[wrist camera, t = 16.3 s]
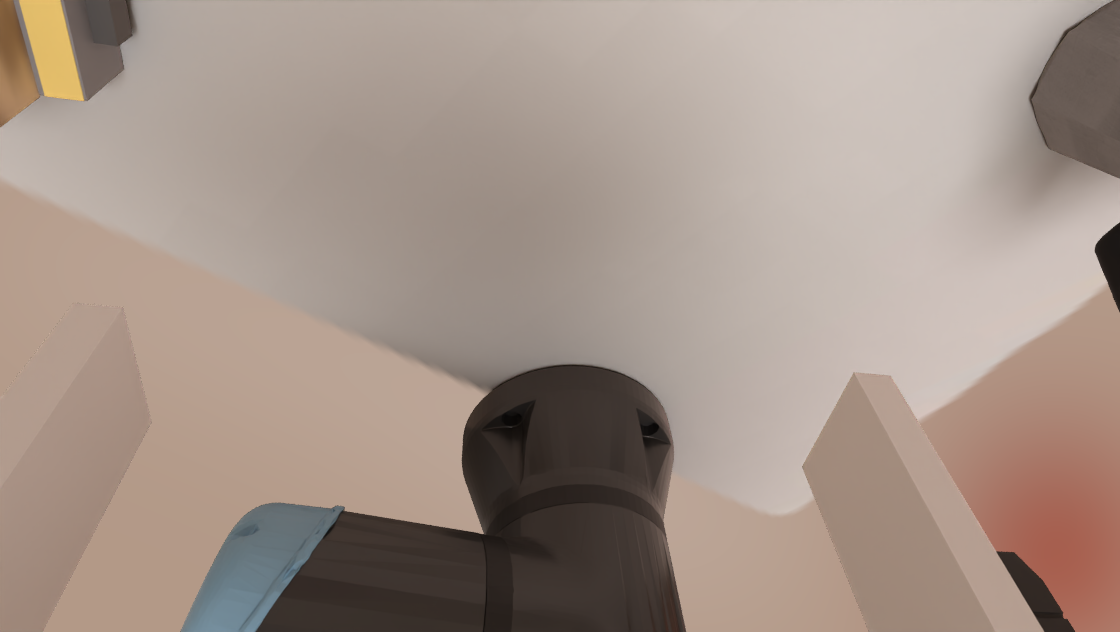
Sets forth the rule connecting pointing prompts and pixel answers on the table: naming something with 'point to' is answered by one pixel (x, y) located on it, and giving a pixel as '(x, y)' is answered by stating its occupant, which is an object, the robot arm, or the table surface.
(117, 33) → the block
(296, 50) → the table surface
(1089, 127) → the coffeepot
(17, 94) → the pallet
